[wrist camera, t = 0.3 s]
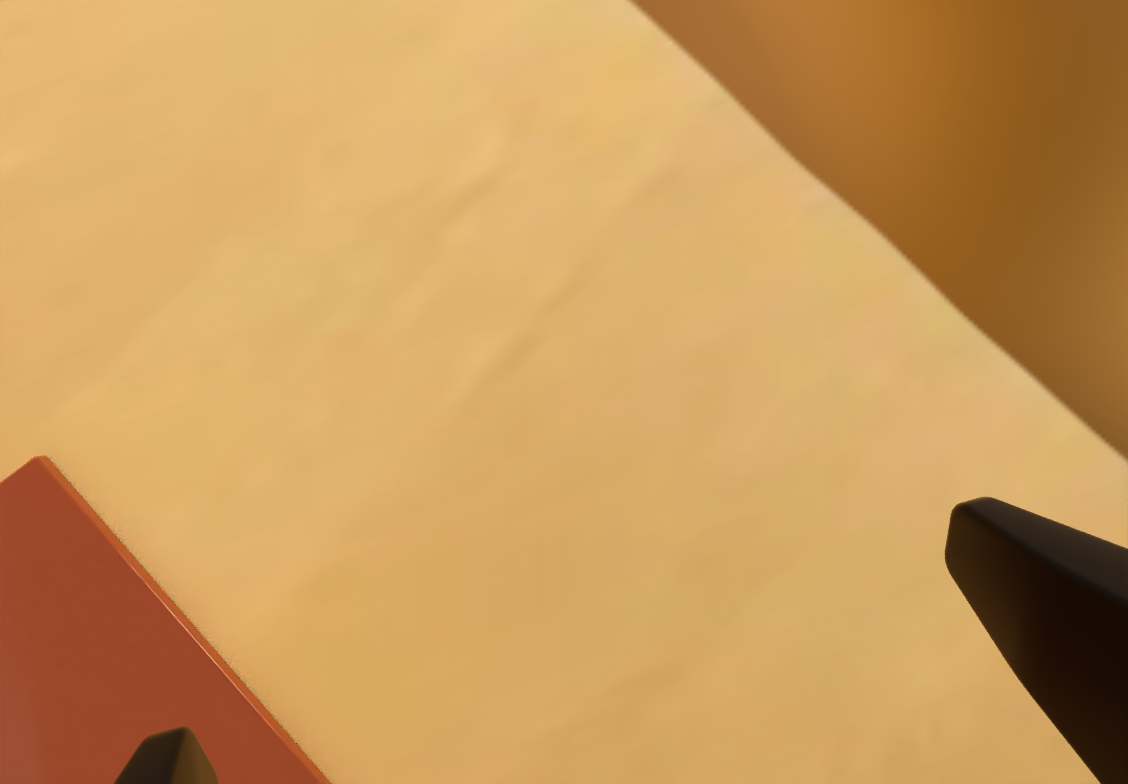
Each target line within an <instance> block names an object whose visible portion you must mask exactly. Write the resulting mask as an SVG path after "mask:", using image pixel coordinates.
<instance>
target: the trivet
mask: <svg viewBox="0 0 1128 784" xmlns="http://www.w3.org/2000/svg"><path fill="white" fill-rule="evenodd" d="M180 726H186V727H189V728H190V729H191V730H192V731H193V732H194V734H195V736H196V737H197V739H198V741H199V743H200V745H201V747H202V748H203V750H204V752H205V754H206V756H207V757H208V759H209V761H210V763H211V765H212V766H213V768H214V770H215V772H216V775H217V779H218V783H219V784H331V783H330V782H329V781H328V780H327V778H326V777H325V776H324V775H323V774H322V773H321V772H320V770H319V769H318V768H317V767H316V766H315V765H314V764H313V762H312V761H311V760H310V759H309V758H308V757H307V755H306V754H305V753H304V752H303V751H302V750H301V749H300V747H299V746H298V745H297V744H296V743H295V742H294V740H293V739H292V738H291V737H290V736H289V735H288V734H287V732H286V731H285V730H284V729H283V728H282V727H281V726H280V724H279V723H278V722H277V721H276V720H275V719H274V717H273V716H272V715H271V714H270V713H269V712H268V711H267V709H266V708H265V707H264V706H263V705H262V704H261V703H260V701H259V700H258V699H257V698H256V697H255V696H254V694H253V693H252V692H251V691H250V690H249V689H248V688H247V686H246V685H245V684H244V683H243V682H242V681H241V679H240V678H239V677H238V676H237V675H236V674H235V673H234V671H233V670H232V669H231V668H230V667H229V666H228V665H227V663H226V662H225V661H224V660H223V659H222V658H221V656H220V655H219V654H218V653H217V652H216V651H215V650H214V648H213V647H212V646H211V645H210V644H209V643H208V642H207V640H206V639H205V638H204V637H203V636H202V635H201V633H200V632H199V631H198V630H197V629H196V628H195V627H194V625H193V624H192V623H191V622H190V621H189V620H188V618H187V617H186V616H185V615H184V614H183V613H182V612H181V610H180V609H179V608H178V607H177V606H176V605H175V604H174V602H173V601H172V600H171V599H170V598H169V597H168V595H167V594H166V593H165V592H164V591H163V590H162V589H161V587H160V586H159V585H158V584H157V583H156V582H155V581H154V579H153V578H152V577H151V576H150V575H149V574H148V572H147V571H146V570H145V569H144V568H143V567H142V566H141V564H140V563H139V562H138V561H137V560H136V559H135V557H134V556H133V555H132V554H131V553H130V552H129V551H128V549H127V548H126V547H125V546H124V545H123V544H122V543H121V541H120V540H119V539H118V538H117V537H116V536H115V534H114V533H113V532H112V531H111V530H110V529H109V528H108V526H107V525H106V524H105V523H104V522H103V521H102V520H101V518H100V517H99V516H98V515H97V514H96V513H95V511H94V510H93V509H92V508H91V507H90V506H89V505H88V503H87V502H86V501H85V500H84V499H83V498H82V496H81V495H80V494H79V493H78V492H77V491H76V490H75V488H74V487H73V486H72V485H71V484H70V483H69V482H68V480H67V479H66V478H65V477H64V476H63V475H62V473H61V472H60V471H59V470H58V469H57V468H56V467H55V465H54V464H53V463H52V462H51V461H50V460H49V459H48V457H47V456H36V457H34V458H32V459H31V460H30V461H28V462H27V463H26V464H24V465H23V466H22V467H20V468H19V469H18V470H16V471H15V472H14V473H12V474H11V475H10V476H8V477H7V478H6V479H4V480H3V481H2V482H0V784H113V783H114V782H115V780H116V779H117V777H118V776H119V774H120V773H121V771H122V770H123V768H124V767H125V765H126V764H127V763H128V761H129V760H130V758H131V757H132V755H133V754H134V752H135V751H136V749H137V748H138V746H139V745H140V744H141V742H142V741H143V740H144V739H145V738H147V737H148V736H150V735H152V734H155V733H159V732H162V731H166V730H169V729H173V728H176V727H180Z"/></svg>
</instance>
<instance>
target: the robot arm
mask: <svg viewBox="0 0 1128 784" xmlns="http://www.w3.org/2000/svg"><path fill="white" fill-rule="evenodd" d="M945 562H946V565H947V568H948V570H949V572H950V574H951V576H952V578H953V579H954V581H955V582H956V584H957V585H958V587H959V589H960V590H961V592H962V593H963V595H964V596H965V598H966V599H967V601H968V602H969V604H970V606H971V607H972V609H973V610H974V612H975V613H976V615H977V616H978V618H979V620H980V621H981V623H982V624H983V626H984V627H985V629H986V630H987V632H988V634H989V635H990V637H991V638H992V640H993V641H994V643H995V644H996V646H997V647H998V649H999V651H1000V652H1001V654H1002V655H1003V657H1004V658H1005V660H1006V661H1007V663H1008V664H1009V666H1010V667H1011V669H1012V670H1013V672H1014V673H1015V675H1016V676H1017V677H1018V679H1019V680H1020V682H1021V683H1022V684H1023V686H1024V687H1025V688H1026V690H1027V691H1028V692H1029V694H1030V695H1031V696H1032V697H1033V699H1034V700H1035V701H1036V703H1037V704H1038V705H1039V706H1040V708H1041V709H1042V710H1043V711H1044V713H1045V714H1046V715H1047V716H1048V718H1049V719H1050V720H1051V721H1052V723H1053V724H1054V725H1055V727H1056V728H1057V729H1058V730H1059V732H1060V733H1061V734H1062V735H1063V737H1064V738H1065V739H1066V740H1067V742H1068V743H1069V744H1070V745H1071V747H1072V748H1073V749H1074V750H1075V752H1076V753H1077V754H1078V756H1079V757H1080V758H1081V759H1082V761H1083V762H1084V763H1085V764H1086V766H1087V767H1088V768H1089V769H1090V771H1091V772H1092V773H1093V774H1094V776H1095V777H1096V778H1097V779H1098V781H1099V782H1100V783H1101V784H1128V549H1127V548H1124V547H1122V546H1119V545H1116V544H1114V543H1111V542H1108V541H1106V540H1103V539H1100V538H1098V537H1095V536H1092V535H1090V534H1087V533H1085V532H1082V531H1079V530H1077V529H1074V528H1071V527H1069V526H1066V525H1063V524H1061V523H1058V522H1055V521H1053V520H1050V519H1047V518H1045V517H1042V516H1040V515H1037V514H1034V513H1032V512H1029V511H1026V510H1024V509H1021V508H1018V507H1016V506H1013V505H1010V504H1008V503H1005V502H1003V501H1000V500H997V499H994V498H991V497H980V498H976V499H973V500H969V501H966V502H963V503H959V504H957V505H956V506H955V507H954V509H953V510H952V512H951V517H950V523H949V529H948V535H947V541H946V548H945ZM113 784H219V783H218V779H217V775H216V772H215V770H214V768H213V766H212V765H211V763H210V761H209V759H208V757H207V756H206V754H205V752H204V750H203V748H202V747H201V745H200V743H199V741H198V739H197V737H196V736H195V734H194V732H193V731H192V730H191V729H190V728H189V727H186V726H180V727H176V728H173V729H169V730H166V731H162V732H159V733H155V734H152V735H150V736H148V737H147V738H145V739H144V740H143V741H142V742H141V744H140V745H139V746H138V748H137V749H136V751H135V752H134V754H133V755H132V757H131V758H130V760H129V761H128V763H127V764H126V765H125V767H124V768H123V770H122V771H121V773H120V774H119V776H118V777H117V779H116V780H115V782H114V783H113Z"/></svg>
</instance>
